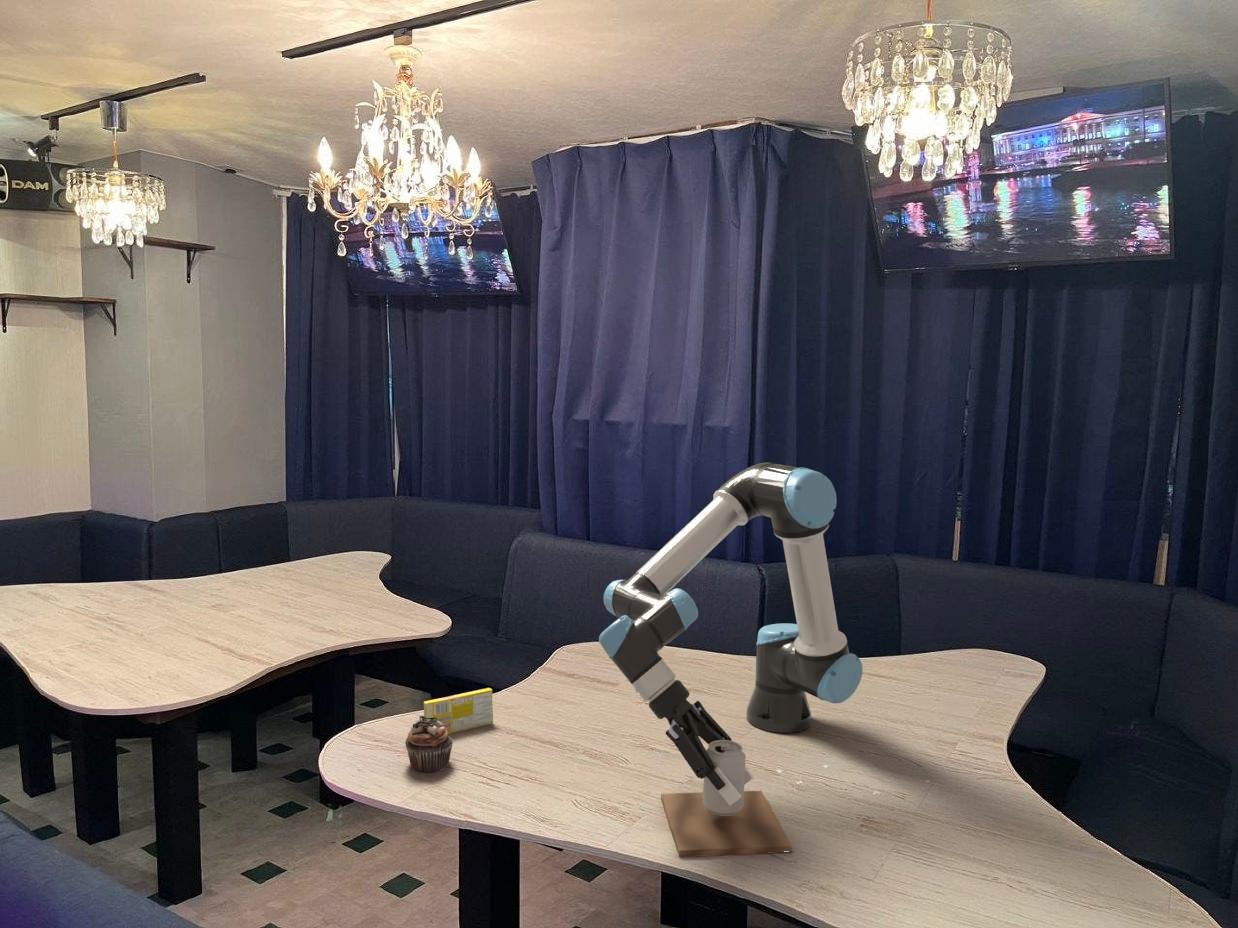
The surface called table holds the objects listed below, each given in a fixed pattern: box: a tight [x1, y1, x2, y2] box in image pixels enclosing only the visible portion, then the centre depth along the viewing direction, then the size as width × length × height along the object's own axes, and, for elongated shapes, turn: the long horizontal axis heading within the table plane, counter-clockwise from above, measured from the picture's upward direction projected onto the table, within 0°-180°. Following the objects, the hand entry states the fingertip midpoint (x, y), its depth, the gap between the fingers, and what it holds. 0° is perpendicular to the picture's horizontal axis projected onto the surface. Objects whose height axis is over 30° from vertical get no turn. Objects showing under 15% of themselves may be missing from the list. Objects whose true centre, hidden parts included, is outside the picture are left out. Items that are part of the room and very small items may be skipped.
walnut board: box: [660, 790, 793, 858], centre depth 167 cm, size 20×20×1 cm
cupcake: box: [405, 715, 454, 774], centre depth 188 cm, size 10×10×10 cm
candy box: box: [423, 687, 494, 735], centre depth 206 cm, size 16×2×8 cm, turn 123°
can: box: [702, 740, 747, 816], centre depth 166 cm, size 8×8×12 cm
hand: (741, 790), depth 165 cm, fingers closed on can, 7 cm apart
